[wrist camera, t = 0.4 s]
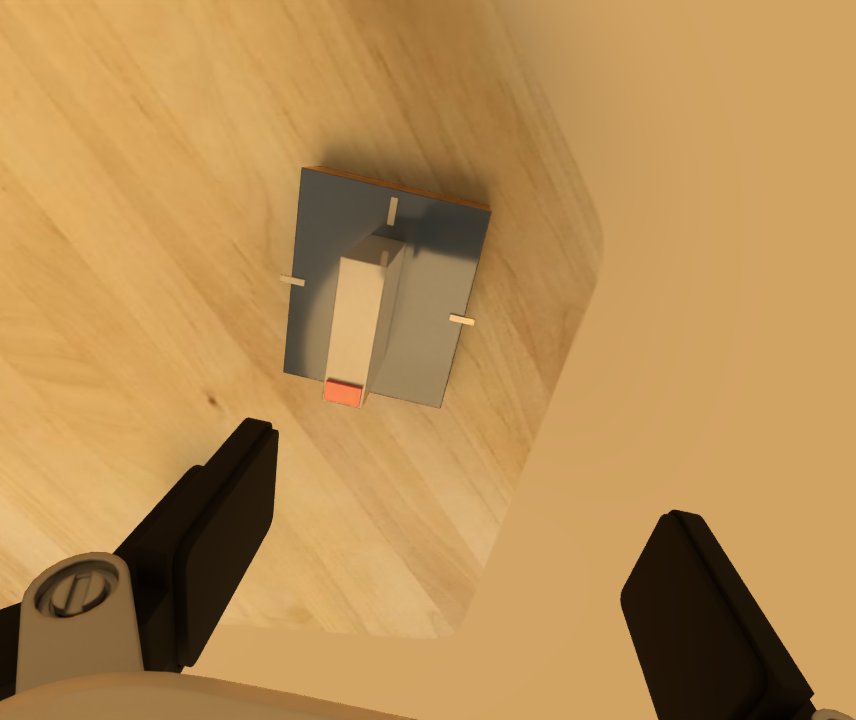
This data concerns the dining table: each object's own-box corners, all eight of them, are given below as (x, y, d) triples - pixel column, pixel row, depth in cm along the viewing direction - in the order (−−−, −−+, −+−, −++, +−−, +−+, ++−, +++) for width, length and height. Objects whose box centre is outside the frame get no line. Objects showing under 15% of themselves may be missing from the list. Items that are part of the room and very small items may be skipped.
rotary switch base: (308, 163, 26) (288, 164, 23) (500, 208, 26) (503, 214, 24) (290, 351, 31) (272, 371, 28) (451, 389, 31) (449, 412, 28)
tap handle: (369, 233, 25) (338, 257, 19) (406, 242, 25) (386, 268, 19) (351, 351, 28) (319, 402, 22) (384, 358, 28) (361, 411, 22)
